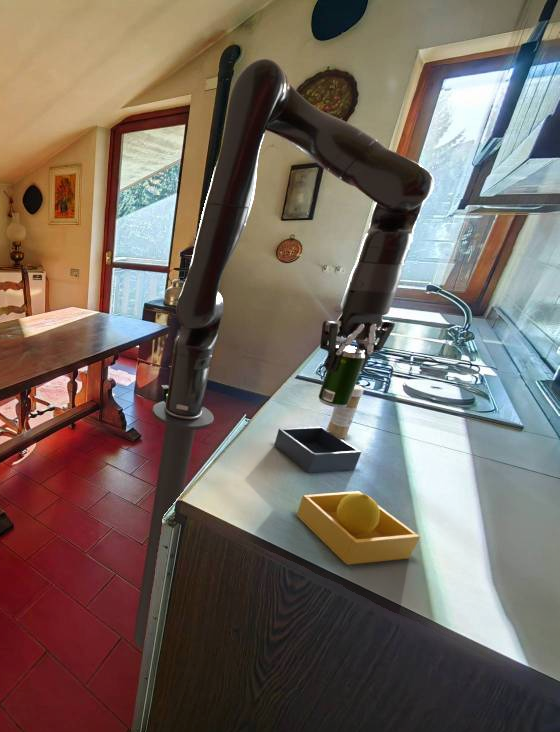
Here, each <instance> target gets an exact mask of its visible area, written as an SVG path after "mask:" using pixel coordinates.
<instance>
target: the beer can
mask: <svg viewBox="0 0 560 732" xmlns="http://www.w3.org/2000/svg"><path fill="white" fill-rule="evenodd" d="M338 346H339V345H337V347H336V348H338ZM365 352H366V351H365V350H363V349H360V348H357V346H356V347H355V346H351V345H349V346H347V347H346V348H345V349H344V351H343V352H342V354H341V359H340V362H339V365H338V368H337V371H336V372H330V371H328V370H326V371H325V375H324V378H323V381H322V384H321V387H320V390H319V393H318V400H319V402H320V403H322V404H323V405H326V406H329V407H332V408H334V407H339V408H342V407H345V406H346V405H348V403H349V401H350V398H351V396H352V393H353V390H354V387H355V384H356V385H357V381H358V379H359V376H360V374H361V372H362V371H361V368H362V365H363V362H364V359H365Z"/></svg>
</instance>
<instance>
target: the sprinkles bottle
mask: <svg viewBox="0 0 560 732" xmlns="http://www.w3.org/2000/svg"><path fill="white" fill-rule="evenodd" d="M364 390H365V388H364V387H363V386H361V385H358V384H357V383H356V384H355V387H354V390H353V393H352V396H351V398H350V401H349V403H348V405H346V406H345V407H342V408H339V407H333V408H332V411H331V414H330V417H329V422H328V424H327V427H326V428H325V429H326V430H328V431H329V432H331V433H332V434H334V435H335V436H337V437H339V438H340V439H345V438H347V437H348V432H349V430H350V427H351V425H352V422H353V419H354V417H355V415H356V412H357V408H358V405H359V403H360V399H361V398H362V396H363V394H364Z"/></svg>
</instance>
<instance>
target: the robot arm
mask: <svg viewBox="0 0 560 732" xmlns="http://www.w3.org/2000/svg"><path fill="white" fill-rule="evenodd" d="M266 131H267V132H269V133H272V134H274V135H276V136H278V137H280V138H282V139H283V140H285V141H287V142H289V143H290V144H292V145H293V146H295V147H296V148H297V149H299V150H300V151H301V152H303V153H304V154H305V155H306V156H307V157H309V158H310V159H311V160H312V161H313V162H315V163H316V164H318V165H319V166H320V167H321V168H323V169H324V170H326V171H327V172H328V173H330V174H331V175H333V176H334V177H336V178H337V179H339V180H340V181H341V182H343V183H345V184H347V185H349V186H352V187H355V188H356V189H357V190H359V191H360V192H361V193H362V194H364V195H365V196H367V197H368V198H369V199H371V200H372V201H373V202H375V203H374V205H373V209H372V213H371V218H370V222H369V226H368V229H367V231H366V233H365V235H364V237H363V239H362V242H361V245H360V248H359V251H358V254H357V257H356V261H355V263H354V266H353V268H352V270H351V272H350V275H349V277H348V281H347V285H346V288H345V291H344V294H343V297H342V300H341V303H340V310H341V314H340V316H339V317H338V319H337V320H332V321H329V320H324V321H323V322H322V327H321V335H320V344H319V348H320V349H321V350H324V351H327V356H326V359H325V362H324V369H325V370H326V371H327V370H328V371H330V372H336V371H337V368H338V365H339V362H340V359H341V354H342V352H343V351H344V349H345V348H346V347H347V346H351V345H352V343H353V342H354V341H355V342H356V348H360V349H363V350H365V351H366V352H365V359H364V362H363V365H362V368H361V371H360V372H363V371H364V369H365V367H366V366H367V362H368V359H369V357H370V355H372V354H373V353H374V352H380V351H382V349H383V348H384V346H385V344H386V342H387V341H388V339H389V337H390V335H391V333H392V332H393V330H394V328H395V326H396V323H395V322H393V321H389V320H385V319H383V316H386V315H388V314H389V312H390V309H391V307H392V304H393V302H394V298H395V295H396V293H397V291H398V288H399V285H400V282H401V280H402V275H403V270H404V266H405V263H406V260H407V257H408V254H409V252H410V249H411V246H412V243H413V239H414V238H413V237H414V229H415V227H416V225H417V222H418V220H419V218H420V214H421V212H422V209H423V207H424V204H425V202H426V201H427V199H428V198H429V197H430V196H431V194H432V191H433V189H434V184H435V181H434V177H433V175H432V173H431V171H429V169H427V168H426V167H424V166H422V165H421V164H419V163H417V162H416V161H414V160H412V159H410V158H408V157H406V156H404V155H403V154H399V153H398V152H396V151H393V150H391V149H389V148H388V147H386V146H385V145H384V144H383V143H382V142H380V141H379V140H377V139H376V138H374V137H373V136H371V135H370V134H368V133H366V132H365V131H363V130H362V129H361V128H359V127H357V126H355V125H353V124H351V123H349V122H347V121H345V120H343V119H341V118H338V117H336V116H334V115H331V114H329V113H327V112H325V111H323V110H321V109H319V108H318V107H316V106H315V105H313V104H311V103H310V102H309V101H307V100H306V99H305V98H304V97H303V96H302V95H301V94H300V93H299V92H298V91H297V90H296V89H295V88H294V86H292V84H290V81H289V79H288V76H287V75H286V73H285V72H284V70H283V68H282V67H281V66H280V65H279V64H278V63H277V62H276V61H274V60H272V59H270V58H259V59H257V60H254V61H253V62H251V63H250V64H248V65H247V66H245V68H244V69H243V70H242V71H241V73H240V74H239V75H238V76H237V78H236V80H235V81H234V83H233V86H232V88H231V91H230V95H229V101H228V107H227V113H226V119H225V125H224V131H223V136H222V142H221V146H220V150H219V154H218V157H217V161H216V165H215V167H214V170H213V174H212V178H211V182H210V186H209V189H208V193H207V196H206V200H205V203H204V207H203V211H202V214H201V218H200V219H201V220H200V223H199V228H198V231H197V235H196V240H195V243H194V248H193V254H192V258H191V262H190V266H189V270H188V273H187V276H186V278H185V282H184V284H183V287H182V289H181V292H180V295H179V297H178V300H177V302H176V308H175V309H176V310H175V312H176V318H177V320H178V322H179V323H180V325H181V327H180V331H179V333H178V335H177V337H176V339H175V341H174V345H173V351H172V352H173V353H172V359H171V360H172V361H171V365H170V366H171V367H170V374H169V378H168V383H167V384H161V385H160V391H159V393H160V394H161V395H162V398H163V401H164V402H165V403H166V404H165V412H166V413H167V414H168V415H169V416H171V417H173V418H176V419H180V420H196V419H199V418H200V417H201V413H202V407H203V404H204V400H205V395H206V390H207V384H208V378H209V373H210V369H211V364H212V363H211V362H212V356H213V352H214V348H215V346H216V343H217V341H218V337H219V332H220V328H221V323H222V318H223V313H224V299H223V297H222V295H221V293H220V292H219V289H220V285H221V280H222V279H223V274H224V272H225V269H226V267H227V265H228V263H229V261H230V259H231V257H232V256H233V254H234V252H235V251H236V249H237V246H238V244H239V242H240V240H241V237H242V236H243V233H244V231H245V228H246V225H247V221H248V219H249V215H250V212H251V208H252V205H253V201H254V198H255V197H254V196H255V192H256V191H255V190H256V183H257V173H258V172H257V170H258V160H259V154H260V149H261V145H262V142H263V140H264V137H265V133H266ZM376 342H377V343H376ZM337 346H338V348H336V347H337Z"/></svg>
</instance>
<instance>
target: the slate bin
mask: <svg viewBox="0 0 560 732" xmlns="http://www.w3.org/2000/svg"><path fill="white" fill-rule="evenodd" d="M326 429H327V428H324V427H323V426H308V427H287V428H278V430H277V434H276V437H275V441H274V444H273V446H274V447H275V448H277V449H278V450H279V451H281V453H283V454H284V455H285V456H287V457H288V458H289V459H290V460H291V461H293V462H294V463H295V464H296V465H298V466H299V467H300V468H301V469H303V470H304V471H305V472H307V474H312V473H327V472H340V471H341V472H342V471H343V472H344V471H355V470H356V468H357V465H358V462H359V460H360V457H361V454H362V451H360V450H359V449H358V448H356V447H355V446H353V445H351V444H350V443H348V442H347V441H345V440H343V438H339V437H337V436H335V435H334V434H332V433H331V432H329V431H328V430H326Z"/></svg>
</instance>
